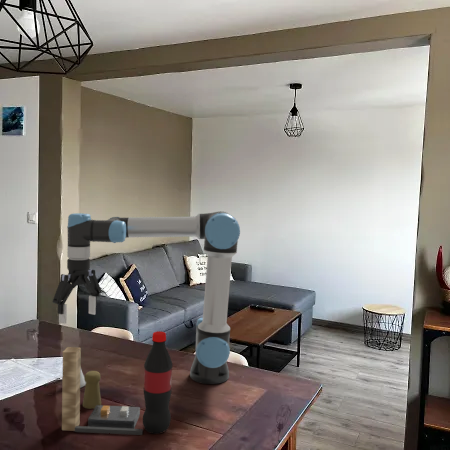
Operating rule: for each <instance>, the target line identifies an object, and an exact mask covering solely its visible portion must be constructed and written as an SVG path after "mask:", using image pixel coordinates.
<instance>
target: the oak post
mask: <svg viewBox="0 0 450 450" xmlns="http://www.w3.org/2000/svg"><path fill="white" fill-rule="evenodd" d="M81 351H82V349H81V347H78V346H77V347H76V346H75V347H73V346H71V347H70V346H67V347H66V348H65V349H64V350H62V379H61V380H62V382H61V383H62V385H61V387H62V390H61V391H62V392H61V394H62V395H61V396H62V397H61V400H62V401H61V406H62V407H61V430H62V431H71V432H72V431H73V432H75V427H76V426H80V423H81V421H80V420H81V419H80V417H81V416H80V415H81V414H80V413H81V411H80V410H81V388H80V366H81V363H82V362H81V360H82V359H81V356H82V355H81Z"/></svg>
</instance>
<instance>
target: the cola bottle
mask: <svg viewBox="0 0 450 450" xmlns="http://www.w3.org/2000/svg"><path fill="white" fill-rule="evenodd" d="M151 342H152V346H151V349H150V351H149V352H148V354H147V357H146V359H145V362H144V364H143V366H144V367H143V368H144V379H143V381H144V383H143V384H144V385H143V398H144V405H145V408H144V409H145V410H144V412H143V414H142V426H143V428H144V429H145V431H146V432H148V433H150V434H154V435H155V434H157V435H158V434H162V433H164V432H166V431H167V430H168V429H169V428H170V425H171V421H172V420H171V419H172V415H171V412H170V407H169V406H170V403H171V402H170V401H171V396H172V389H173V388H172V379H173V377H172V375H173V374H172V373H173V362H172V359H171V356H170V353H169V351H168V349H167V346H166V342H167V333H166V332H165V331H161V330H160V331H158V330H157V331H154V332H153V333H152V338H151Z"/></svg>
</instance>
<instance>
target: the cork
mask: <svg viewBox="0 0 450 450" xmlns="http://www.w3.org/2000/svg"><path fill="white" fill-rule="evenodd" d="M101 378H102V377H101V373H100V372H99V371H97V370H89V371H87V372H86V373H85V374H84V380H85V382H86V384H85V386H84V394H83V400H82V407H83V408H85V409H89V410H90V409H94V408H95V407H96V405H102V400H101V399H102V398H101V389H100V381H101Z"/></svg>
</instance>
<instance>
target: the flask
mask: <svg viewBox="0 0 450 450" xmlns="http://www.w3.org/2000/svg"><path fill="white" fill-rule="evenodd" d="M84 376H85V374H84V373H83V371H82V367H81V365H80V389H81V388H83V387H85V386H86V382H85V380H84Z"/></svg>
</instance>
